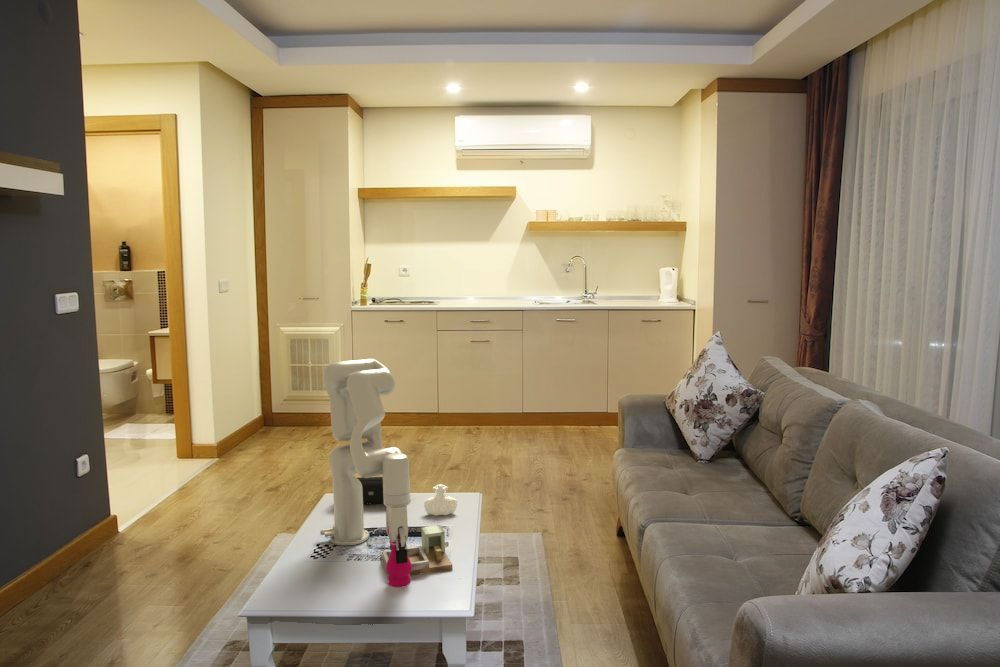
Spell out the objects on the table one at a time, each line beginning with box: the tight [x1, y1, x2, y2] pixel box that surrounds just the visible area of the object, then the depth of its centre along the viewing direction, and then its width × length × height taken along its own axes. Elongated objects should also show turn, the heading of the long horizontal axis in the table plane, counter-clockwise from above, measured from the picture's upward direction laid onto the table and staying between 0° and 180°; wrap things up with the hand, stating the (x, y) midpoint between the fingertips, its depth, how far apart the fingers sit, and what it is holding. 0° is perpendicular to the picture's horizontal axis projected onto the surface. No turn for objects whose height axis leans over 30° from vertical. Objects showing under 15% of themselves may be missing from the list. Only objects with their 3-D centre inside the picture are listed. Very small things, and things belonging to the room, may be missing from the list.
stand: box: [379, 545, 453, 578], centre depth 217 cm, size 19×16×4 cm
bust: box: [423, 483, 458, 517], centre depth 259 cm, size 12×8×11 cm
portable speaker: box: [356, 476, 384, 506], centre depth 270 cm, size 26×10×10 cm, turn 94°
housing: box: [421, 524, 446, 554], centre depth 223 cm, size 6×6×6 cm
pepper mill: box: [385, 527, 412, 588], centre depth 203 cm, size 7×7×20 cm
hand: (398, 556), depth 203 cm, fingers open, 9 cm apart
